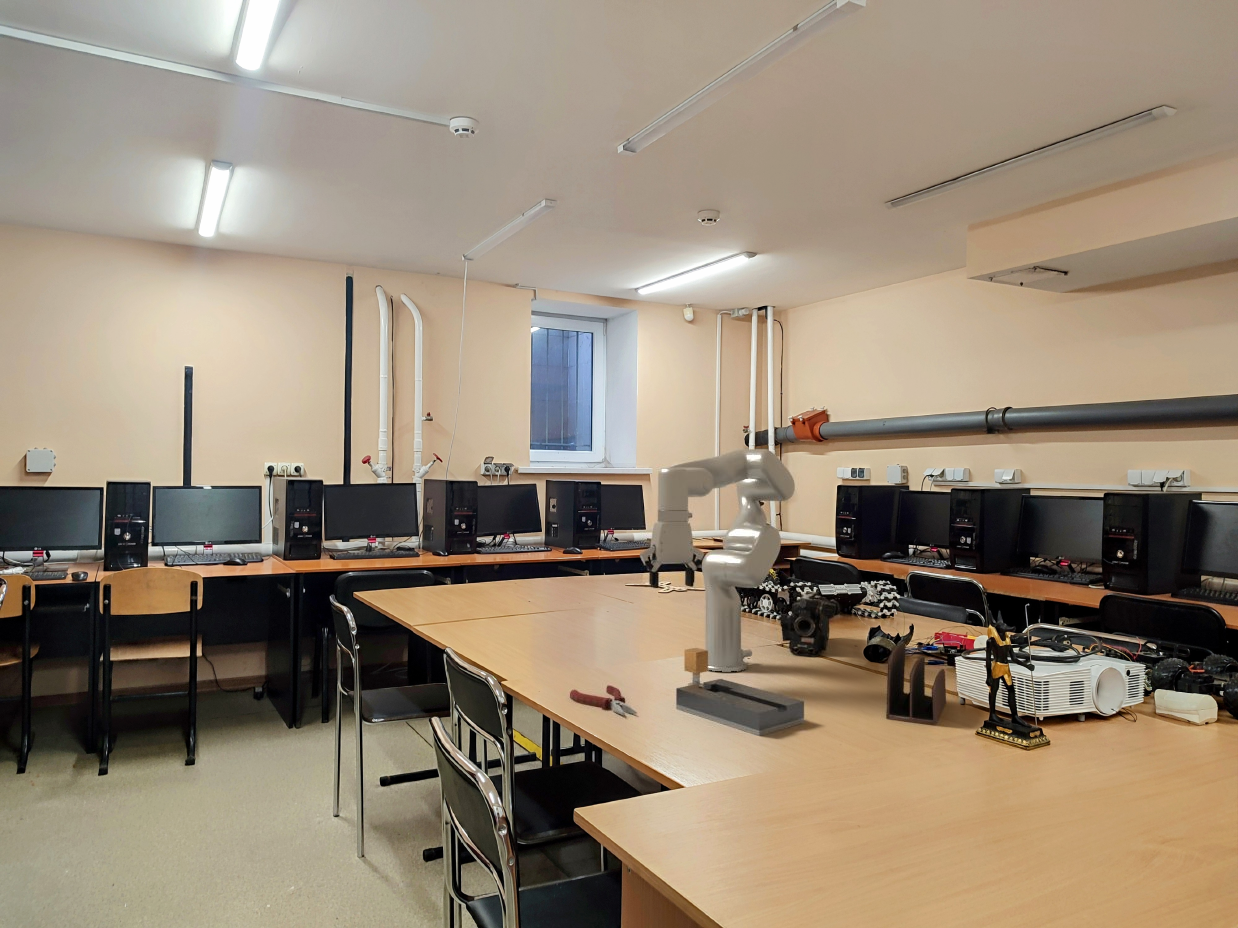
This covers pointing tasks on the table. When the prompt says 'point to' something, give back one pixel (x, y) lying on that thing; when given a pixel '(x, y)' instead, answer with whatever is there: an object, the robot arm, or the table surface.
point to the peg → (696, 663)
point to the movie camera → (809, 623)
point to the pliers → (604, 700)
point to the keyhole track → (740, 706)
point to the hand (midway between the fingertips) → (672, 586)
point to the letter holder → (913, 691)
